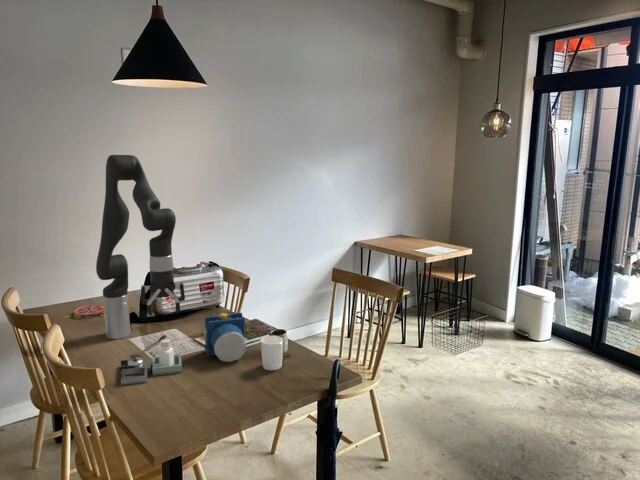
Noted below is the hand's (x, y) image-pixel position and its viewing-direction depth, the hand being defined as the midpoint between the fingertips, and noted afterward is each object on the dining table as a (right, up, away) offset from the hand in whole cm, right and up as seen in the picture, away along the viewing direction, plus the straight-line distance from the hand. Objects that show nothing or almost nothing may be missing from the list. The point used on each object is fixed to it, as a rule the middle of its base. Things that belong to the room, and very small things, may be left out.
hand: (164, 313), depth 175 cm
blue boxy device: (+19, -18, +15) cm, 30 cm away
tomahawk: (-10, -17, +21) cm, 29 cm away
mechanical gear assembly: (-48, -9, +61) cm, 78 cm away
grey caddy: (-10, -20, -1) cm, 22 cm away
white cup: (+37, -20, +6) cm, 42 cm away
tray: (0, -20, +4) cm, 20 cm away
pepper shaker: (0, -19, +4) cm, 20 cm away
